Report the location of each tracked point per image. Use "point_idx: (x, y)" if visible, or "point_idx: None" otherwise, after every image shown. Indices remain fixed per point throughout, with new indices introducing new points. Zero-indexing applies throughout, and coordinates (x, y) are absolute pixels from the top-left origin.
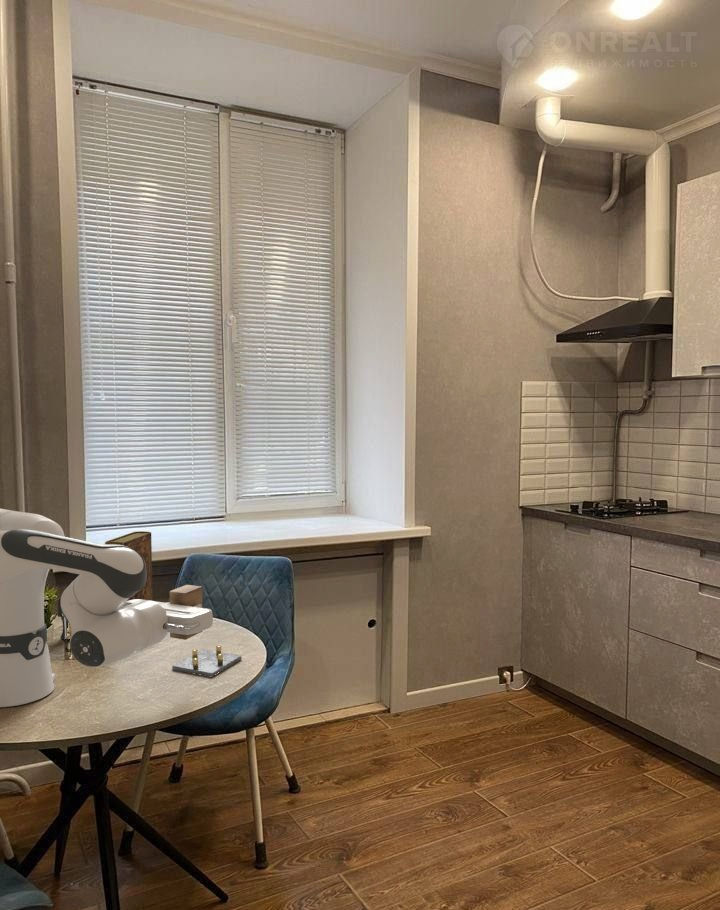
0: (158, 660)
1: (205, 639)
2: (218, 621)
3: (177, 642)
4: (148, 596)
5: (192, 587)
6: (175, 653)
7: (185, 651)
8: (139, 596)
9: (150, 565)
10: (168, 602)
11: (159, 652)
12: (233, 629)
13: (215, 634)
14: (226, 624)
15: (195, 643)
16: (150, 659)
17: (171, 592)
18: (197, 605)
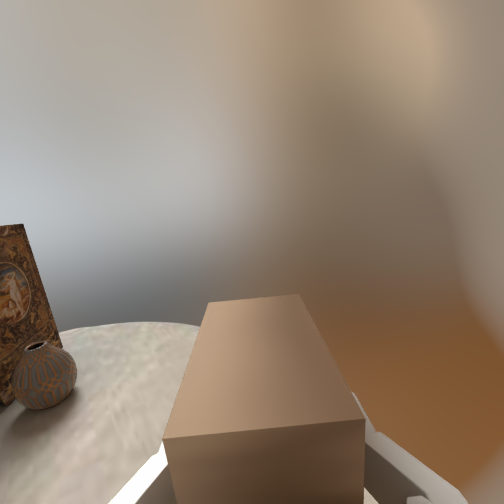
0: (102, 489)
1: (170, 365)
2: (164, 323)
3: (124, 391)
4: (45, 320)
5: (270, 313)
6: (135, 433)
7: (153, 415)
8: (25, 328)
9: (36, 274)
10: (145, 470)
11: (96, 445)
12: (195, 330)
13: (178, 348)
14: (178, 325)
15: (159, 381)
16: (77, 495)
17: (190, 445)
18: (369, 422)
